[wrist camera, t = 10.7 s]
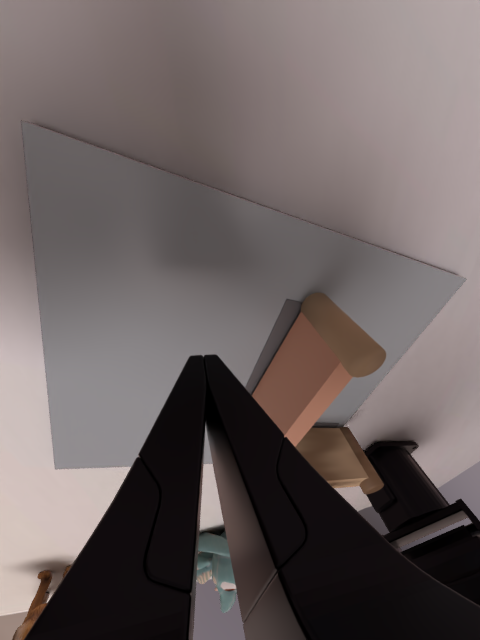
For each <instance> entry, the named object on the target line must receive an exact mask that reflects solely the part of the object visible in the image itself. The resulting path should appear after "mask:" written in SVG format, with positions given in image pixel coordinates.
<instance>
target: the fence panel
mask: <svg viewBox="0 0 480 640" xmlns="http://www.w3.org/2000/svg"><path fill="white" fill-rule="evenodd" d="M385 359H386V351H385V350H384V349H383V348H382V347H381V346H380V345H379V344H378V343H377V342H376V341H375V340H374V339H372V338H371V337H370V336H369V335H368V334H367V333H366V332H365V331H364V330H363V329H362V328H361V327H360V326H359V325H357V324H356V323H355V322H354V321H353V320H352V319H351V318H350V317H349V316H348V315H347V314H346V313H345V312H344V311H343V310H341V309H340V308H339V307H338V306H337V305H336V304H335V303H334V302H333V301H332V300H331V299H330V298H329V297H328V296H326V295H325V294H324V293H314V294H311V295H309V296H308V297H307V298H306V299H305V300H304V301H303V303H302V305H301V312H300V314H299V316H298V318H297V319H296V321H295V323H294V324H293V326H292V328H291V329H290V331H289V333H288V335H287V336H286V338H285V340H284V341H283V343H282V345H281V347H280V348H279V350H278V352H277V353H276V355H275V357H274V358H273V360H272V362H271V364H270V365H269V367H268V369H267V370H266V372H265V374H264V376H263V377H262V379H261V381H260V382H259V384H258V386H257V387H256V389H255V391H254V393H253V394H252V397H253V398H254V399H255V400H256V401H257V403H258V404H259V405H260V406H261V407H262V409H263V410H264V411H265V412H266V413H267V414H268V416H269V417H270V418H271V419H272V420H273V422H274V423H275V424H276V425H277V426H278V427H279V429H280V430H281V431H282V432H283V433H284V437H287V438H288V439H289V440H290V442H291V443H292V444H293V445H294V446H295V447H296V445H297V444H298V443H299V442H300V441H301V439H302V438H303V437H304V436H305V435H306V433H307V432H308V431H309V430H310V428H311V427H312V426H313V425H314V424H315V422H316V421H317V420H318V419H319V418H320V416H321V415H322V414H323V413H324V412H325V410H326V409H327V408H328V407H329V406H330V404H331V403H332V402H333V401H334V399H335V398H336V397H337V396H338V395H339V393H340V392H341V391H342V390H343V389H344V387H345V386H346V385H347V384H348V383H349V381H350V380H351V379H352V378H353V377H356V378H359V377H365V376H367V375H370V374H372V373H373V372H375V371H376V370H378V369H379V368H380V367H381V366H382V364H383V363H384V361H385Z"/></svg>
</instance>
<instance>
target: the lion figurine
mask: <svg viewBox="0 0 480 640" xmlns="http://www.w3.org/2000/svg"><path fill="white" fill-rule="evenodd" d="M71 566H72V565H70V566H67V567H66V570H65V572H64V574H63V578H64V577H65V575H66V574H67V572H68V571H69V569H70V568H71ZM38 579H41V583H40V586H39V589H38V591H37V594H36V596H35V598H34V599H33V601H32V604H31V606H30V608H29V611H28V614H27V617H26V618H25V620H24V622H23V624H22V625H21V626H20V627H18V629H17V630H16V632H15V634H14V636H13V639H12V640H24V638H25V637H26V635H27V634H28V632H29V631H30V629H31V628H32V626H33V624H34V623H35V621H36V620H37V618H38V617H39V615H40V614H41V612H42V611H43V609H44V608H45V606H46V604H47V603H46V602H47V600H48V598H49V593H46V591H47V589H48V587H49V585H50V582H51V580H52V573H51V571H50V570H47V571H42V572H41V573H39V574H38Z"/></svg>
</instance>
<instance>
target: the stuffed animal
mask: <svg viewBox="0 0 480 640" xmlns="http://www.w3.org/2000/svg"><path fill="white" fill-rule="evenodd" d="M198 551H201V552H199V553H198V562H197V581H198V582H199V583H200V584H204V583H205V582H206V581H207V580H208V579H209V578H210V577H211V576H212V580H213V582H214V583H215V585H216V588H215V591H219V594H220V602H221V611H222V612H223V613H226V612H227V611H229V610H230V609H231V607H232V605H233V604H234V602H235V599H236V593H237V590H236V585H235V579H234V574H233V569H232V563H231V558H230V553H229V547H228V542H227V537H226V531H224V532H223V533H222V534H221V535H220V536H218V535H215V534H211V533H208V532H204V533H201V534H199V545H198Z"/></svg>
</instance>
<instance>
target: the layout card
mask: <svg viewBox="0 0 480 640" xmlns="http://www.w3.org/2000/svg"><path fill="white" fill-rule="evenodd" d="M21 125H22V135H23V145H24V156H25V166H26V176H27V187H28V197H29V207H30V218H31V228H32V238H33V248H34V259H35V269H36V279H37V290H38V300H39V310H40V321H41V331H42V341H43V351H44V362H45V372H46V382H47V393H48V403H49V413H50V424H51V434H52V444H53V454H54V465H55V469H79V468H106V467H132V465H133V463H134V461H135V459H136V458H137V457H139V456H138V454H139V452H140V450H141V448H142V446H143V444H144V442H145V440H146V438H147V436H148V434H149V433H150V431H151V429H152V427H153V425H154V423H155V421H156V419H157V417H158V415H159V413H160V411H161V410H162V408H163V406H164V404H165V402H166V400H167V398H168V396H169V394H170V392H171V390H172V388H173V387H174V385H175V383H176V381H177V379H178V377H179V375H180V373H181V371H182V369H183V367H184V365H185V364H186V362H187V360H188V358H189V356H191V355H202V356H203V357H204V355H209V354H216V355H218V356H219V358H220V359H221V360H222V361H223V362H224V363H225V365H226V366H227V367H228V368H229V369H230V371H231V372H232V373H233V374H234V375H235V376H236V378H237V379H238V380H239V381H240V382H241V384H242V385H243V386H244V387H245V388H246V390H247V391H248V392H249V393H250V394H251V395H252V394H253V393H254V391H255V389H256V387H257V386H258V384H259V382H260V381H261V379H262V377H263V376H264V374H265V372H266V370H267V369H268V367H269V365H270V364H271V362H272V360H273V358H274V357H275V355H276V353H277V352H278V350H279V348H280V347H281V345H282V343H283V341H284V340H285V338H286V336H287V335H288V333H289V331H290V329H291V328H292V326H293V324H294V323H295V321H296V319H297V318H298V316H299V314H300V312H301V305H302V303H303V301H304V300H305V299H306V298H307V297H308V296H309V295H311V294H314V293H324V294H325V295H326V296H328V297H329V298H330V299H331V300H332V301H333V302H334V303H335V304H336V305H337V306H338V307H339V308H340V309H341V310H343V311H344V312H345V313H346V314H347V315H348V316H349V317H350V318H351V319H352V320H353V321H354V322H355V323H356V324H357V325H359V326H360V327H361V328H362V329H363V330H364V331H365V332H366V333H367V334H368V335H369V336H370V337H371V338H372V339H374V340H375V341H376V342H377V343H378V344H379V345H380V346H381V347H382V348H383V349H384V350H385V351H386V359H385V361H384V363H383V364H382V366H381V367H380V368H379V369H378V370H376V371H375V372H373V373H372V374H370V375H367V376H365V377H359V378H356V377H353V378H352V379H351V380H350V381H349V383H348V384H347V385H346V386H345V387H344V389H343V390H342V391H341V392H340V393H339V395H338V396H337V397H336V398H335V399H334V401H333V402H332V403H331V404H330V406H329V407H328V408H327V409H326V410H325V412H324V413H323V414H322V415H321V416H320V418H319V419H318V420H317V421H316V422H315V424H314V425H313V426H312V427H311V428H341V427H343V426H344V425H345V424H346V423H347V421H348V420H349V419H350V418H351V417H352V415H353V414H354V413H355V412H356V411H357V409H358V408H359V407H360V406H361V405H362V403H363V402H364V401H365V400H366V399H367V397H368V396H369V395H370V394H371V393H372V392H373V390H374V389H375V388H376V387H377V386H378V384H379V383H380V382H381V381H382V380H383V378H384V377H385V376H386V375H387V374H388V372H389V371H390V370H391V369H392V368H393V366H394V365H395V364H396V363H397V362H398V361H399V359H400V358H401V357H402V356H403V355H404V353H405V352H406V351H407V350H408V349H409V347H410V346H411V345H412V344H413V343H414V341H415V340H416V339H417V338H418V337H419V335H420V334H421V333H422V332H423V331H424V330H425V328H426V327H427V326H428V325H429V324H430V322H431V321H432V320H433V319H434V318H435V316H436V315H437V314H438V313H439V312H440V310H441V309H442V308H443V307H444V306H445V304H446V303H447V302H448V301H449V300H450V298H451V297H452V296H453V295H454V294H455V293H456V291H457V290H458V289H459V288H460V287H461V285H462V284H463V283H464V282H465V281H466V278H463V277H461V276H458V275H456V274H453V273H450V272H447V271H445V270H442V269H439V268H436V267H433V266H431V265H428V264H425V263H422V262H419V261H417V260H414V259H411V258H408V257H405V256H403V255H400V254H397V253H394V252H391V251H389V250H386V249H383V248H380V247H377V246H375V245H372V244H369V243H366V242H363V241H361V240H358V239H355V238H352V237H349V236H347V235H344V234H341V233H338V232H335V231H333V230H330V229H327V228H324V227H321V226H319V225H316V224H313V223H310V222H307V221H305V220H302V219H299V218H296V217H293V216H291V215H288V214H285V213H282V212H279V211H277V210H274V209H271V208H268V207H265V206H263V205H260V204H257V203H254V202H251V201H249V200H246V199H243V198H240V197H237V196H235V195H232V194H229V193H226V192H223V191H221V190H218V189H215V188H212V187H209V186H207V185H204V184H201V183H198V182H195V181H193V180H190V179H187V178H184V177H181V176H179V175H176V174H173V173H170V172H167V171H165V170H162V169H159V168H156V167H153V166H151V165H148V164H145V163H142V162H139V161H137V160H134V159H131V158H128V157H125V156H123V155H120V154H117V153H114V152H111V151H109V150H106V149H103V148H100V147H97V146H95V145H92V144H89V143H86V142H83V141H81V140H78V139H75V138H72V137H69V136H67V135H64V134H61V133H58V132H55V131H53V130H50V129H47V128H44V127H41V126H39V125H36V124H33V123H30V122H26V121H22V120H21ZM203 464H213V462H212V457H211V451H210V446H209V441H208V436H207V429H206V426H205V445H204V462H203Z"/></svg>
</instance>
